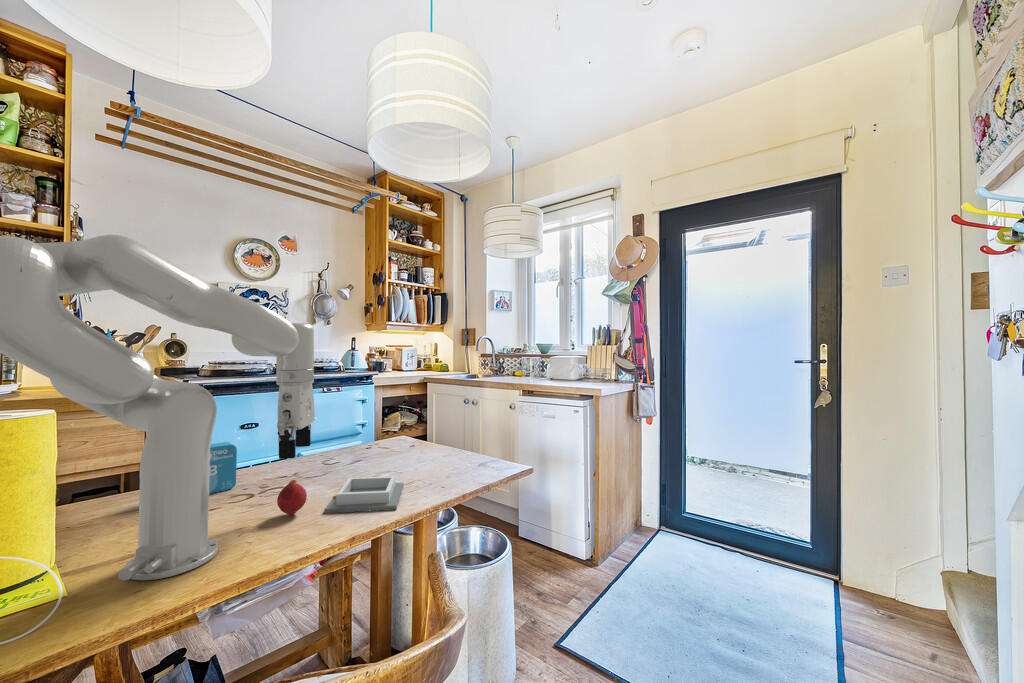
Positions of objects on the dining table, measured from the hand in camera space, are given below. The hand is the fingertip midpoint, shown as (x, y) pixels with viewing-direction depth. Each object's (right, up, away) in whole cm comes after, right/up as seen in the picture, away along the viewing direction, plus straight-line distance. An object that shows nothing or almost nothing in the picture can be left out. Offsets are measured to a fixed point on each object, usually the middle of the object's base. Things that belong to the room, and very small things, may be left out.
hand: (295, 451), depth 91 cm
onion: (0, -14, -1) cm, 14 cm away
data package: (-30, -14, +13) cm, 36 cm away
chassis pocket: (+13, -14, +10) cm, 22 cm away
